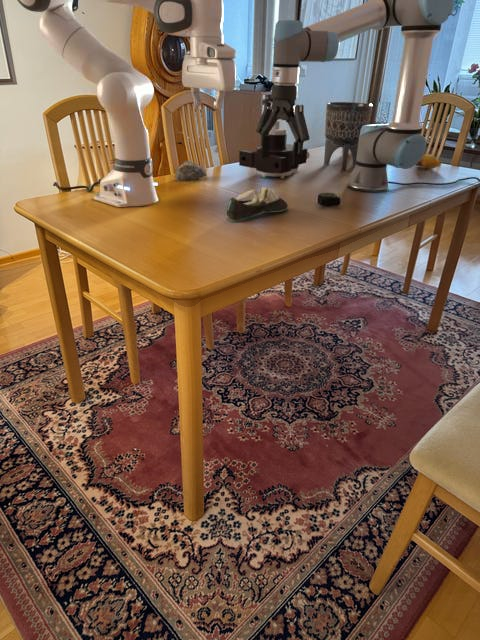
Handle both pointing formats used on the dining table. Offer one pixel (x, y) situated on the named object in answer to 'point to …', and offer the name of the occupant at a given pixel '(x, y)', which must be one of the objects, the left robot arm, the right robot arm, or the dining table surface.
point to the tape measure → (328, 199)
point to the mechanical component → (273, 156)
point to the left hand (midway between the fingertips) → (207, 107)
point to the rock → (190, 172)
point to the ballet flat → (255, 204)
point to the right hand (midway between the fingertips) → (280, 161)
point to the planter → (345, 128)
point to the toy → (428, 162)
